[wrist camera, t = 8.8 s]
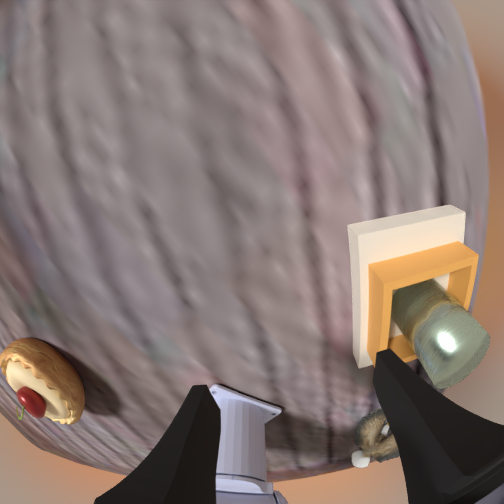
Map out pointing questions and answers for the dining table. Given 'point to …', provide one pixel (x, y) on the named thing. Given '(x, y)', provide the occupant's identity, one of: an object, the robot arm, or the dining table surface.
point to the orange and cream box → (404, 272)
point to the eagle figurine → (374, 440)
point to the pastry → (43, 381)
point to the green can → (439, 331)
